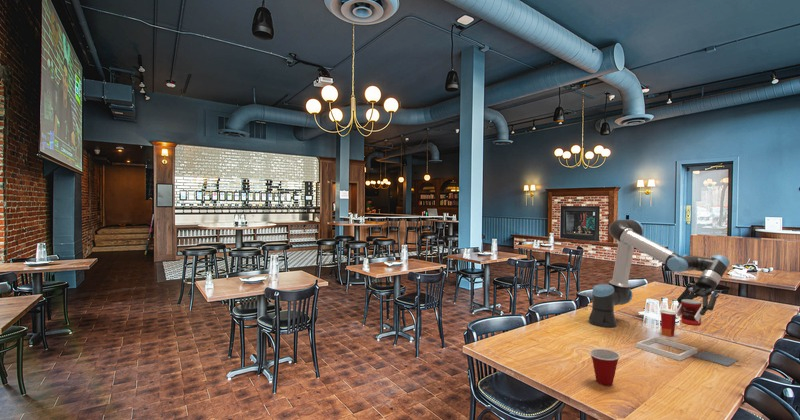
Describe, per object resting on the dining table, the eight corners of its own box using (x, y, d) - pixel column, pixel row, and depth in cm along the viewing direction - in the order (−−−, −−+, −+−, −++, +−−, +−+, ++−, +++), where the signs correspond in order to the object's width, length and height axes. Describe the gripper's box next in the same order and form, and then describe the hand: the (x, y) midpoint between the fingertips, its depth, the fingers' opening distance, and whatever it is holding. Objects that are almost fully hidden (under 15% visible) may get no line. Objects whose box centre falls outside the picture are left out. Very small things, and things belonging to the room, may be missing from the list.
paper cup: (670, 332, 215) (671, 308, 215) (679, 337, 208) (680, 312, 208) (656, 332, 216) (656, 308, 216) (664, 336, 209) (665, 311, 209)
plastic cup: (583, 376, 156) (583, 348, 156) (607, 376, 157) (608, 347, 157) (599, 389, 145) (599, 358, 145) (625, 388, 146) (626, 358, 146)
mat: (693, 356, 180) (693, 355, 180) (704, 351, 187) (704, 350, 187) (727, 366, 169) (727, 365, 169) (738, 360, 176) (738, 359, 176)
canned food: (697, 322, 185) (697, 299, 185) (704, 326, 177) (704, 303, 177) (678, 320, 187) (678, 298, 187) (684, 325, 180) (684, 302, 180)
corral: (636, 347, 191) (636, 342, 191) (654, 341, 201) (654, 336, 201) (679, 360, 175) (679, 355, 175) (697, 353, 185) (697, 348, 185)
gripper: (736, 290, 178) (714, 328, 172) (689, 282, 197) (668, 316, 191) (729, 280, 176) (707, 317, 170) (682, 273, 195) (661, 306, 190)
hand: (686, 316), depth 181 cm, fingers closed on canned food, 8 cm apart
